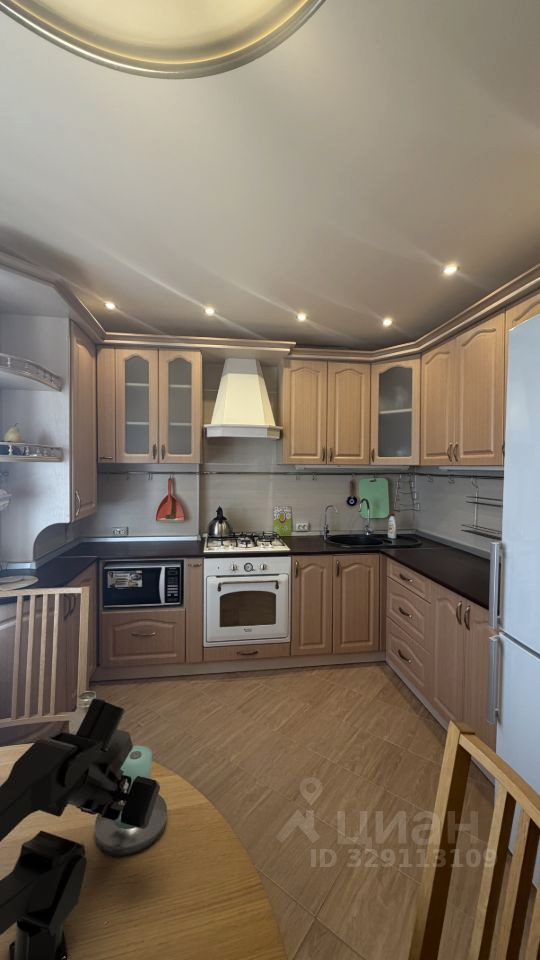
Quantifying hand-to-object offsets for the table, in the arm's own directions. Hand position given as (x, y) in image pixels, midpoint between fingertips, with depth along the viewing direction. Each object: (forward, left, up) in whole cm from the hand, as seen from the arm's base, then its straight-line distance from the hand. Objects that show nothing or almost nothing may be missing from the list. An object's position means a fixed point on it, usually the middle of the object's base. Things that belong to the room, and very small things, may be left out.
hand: (121, 801), depth 73 cm
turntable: (+2, -3, -6) cm, 7 cm away
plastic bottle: (+17, +3, -8) cm, 19 cm away
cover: (+3, -3, -5) cm, 7 cm away
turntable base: (+2, -3, -7) cm, 8 cm away
